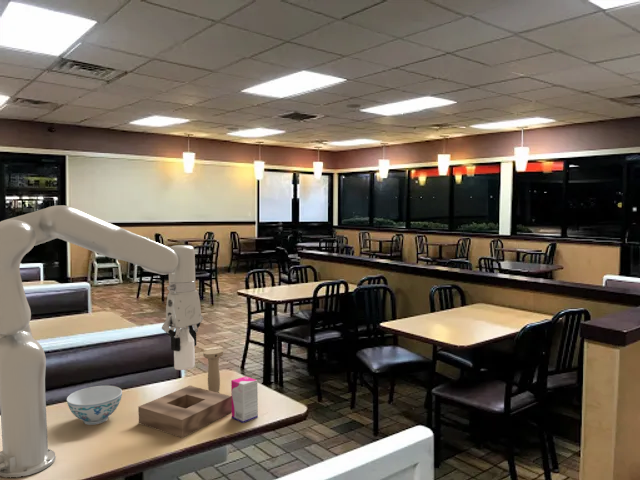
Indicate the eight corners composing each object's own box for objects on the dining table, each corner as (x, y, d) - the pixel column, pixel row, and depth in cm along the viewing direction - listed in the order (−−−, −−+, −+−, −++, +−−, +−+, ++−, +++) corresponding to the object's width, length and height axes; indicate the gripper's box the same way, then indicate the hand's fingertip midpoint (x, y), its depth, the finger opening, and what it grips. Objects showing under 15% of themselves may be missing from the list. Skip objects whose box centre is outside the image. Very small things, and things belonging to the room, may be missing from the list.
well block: (182, 437, 138) (181, 420, 137) (138, 423, 147) (138, 406, 147) (231, 412, 155) (231, 396, 154) (190, 400, 164) (189, 385, 164)
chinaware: (59, 420, 150) (58, 395, 149) (109, 405, 161) (108, 382, 160) (80, 436, 139) (79, 409, 139) (132, 419, 150) (131, 393, 150)
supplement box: (258, 417, 151) (258, 379, 150) (243, 423, 147) (242, 385, 146) (246, 411, 155) (245, 375, 154) (230, 418, 151) (230, 380, 150)
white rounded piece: (173, 330, 145) (172, 326, 151) (174, 371, 146) (173, 365, 151) (195, 328, 148) (192, 324, 153) (196, 368, 148) (193, 363, 154)
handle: (226, 396, 168) (225, 351, 167) (207, 400, 164) (206, 355, 163) (220, 391, 172) (219, 348, 171) (202, 395, 168) (201, 351, 167)
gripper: (168, 292, 139) (170, 357, 140) (212, 284, 154) (213, 342, 155) (150, 290, 143) (151, 353, 144) (194, 282, 158) (196, 339, 159)
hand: (184, 347), depth 149 cm, fingers closed on white rounded piece, 5 cm apart
